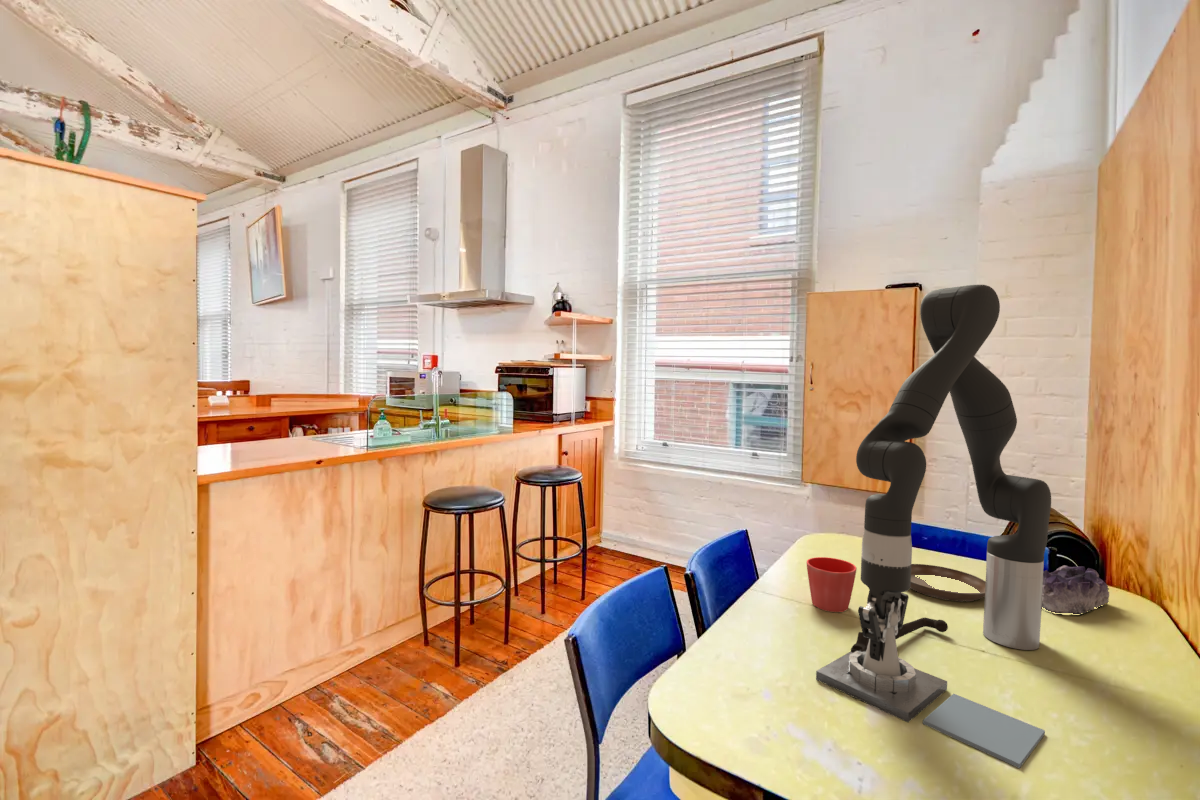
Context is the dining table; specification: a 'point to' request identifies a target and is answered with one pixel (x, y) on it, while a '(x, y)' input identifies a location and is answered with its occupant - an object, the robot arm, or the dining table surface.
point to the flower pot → (831, 583)
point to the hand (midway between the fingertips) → (881, 657)
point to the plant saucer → (964, 577)
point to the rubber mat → (985, 729)
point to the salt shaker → (885, 653)
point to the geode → (1073, 590)
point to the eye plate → (883, 685)
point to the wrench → (902, 631)
